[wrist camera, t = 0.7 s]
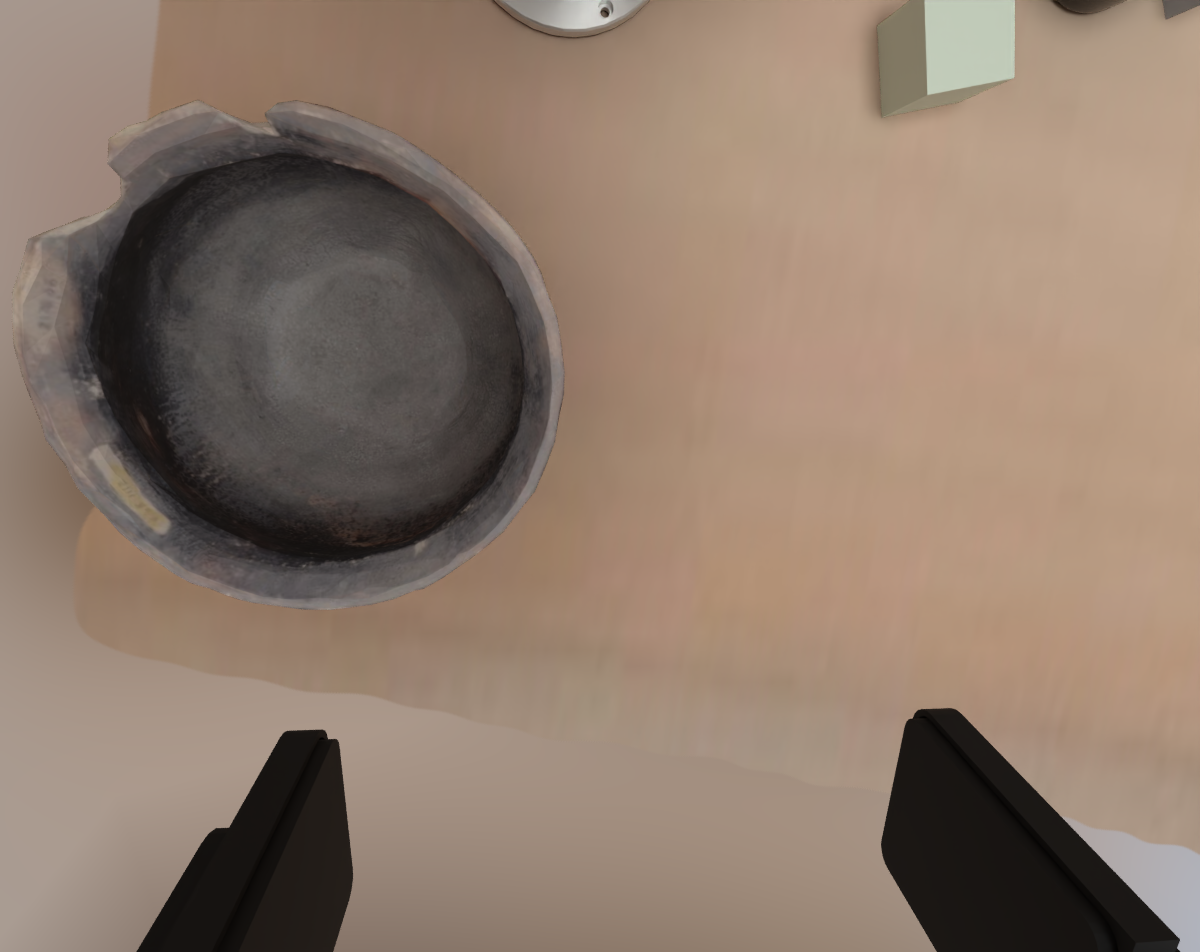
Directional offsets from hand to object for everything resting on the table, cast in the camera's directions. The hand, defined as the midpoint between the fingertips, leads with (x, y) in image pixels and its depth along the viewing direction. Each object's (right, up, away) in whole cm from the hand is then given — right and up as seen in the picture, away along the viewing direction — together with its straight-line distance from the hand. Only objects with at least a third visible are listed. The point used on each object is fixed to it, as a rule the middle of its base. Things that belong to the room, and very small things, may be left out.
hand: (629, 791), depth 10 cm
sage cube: (+19, +30, +29) cm, 46 cm away
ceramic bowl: (-14, +13, +31) cm, 37 cm away
